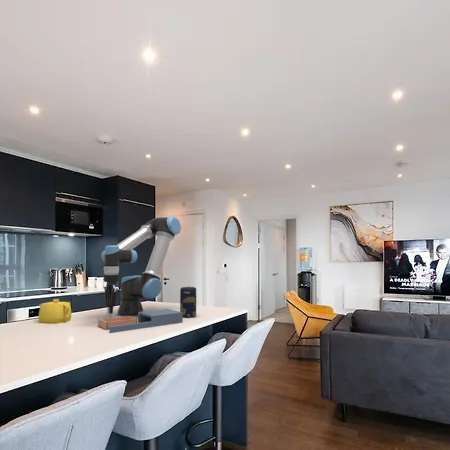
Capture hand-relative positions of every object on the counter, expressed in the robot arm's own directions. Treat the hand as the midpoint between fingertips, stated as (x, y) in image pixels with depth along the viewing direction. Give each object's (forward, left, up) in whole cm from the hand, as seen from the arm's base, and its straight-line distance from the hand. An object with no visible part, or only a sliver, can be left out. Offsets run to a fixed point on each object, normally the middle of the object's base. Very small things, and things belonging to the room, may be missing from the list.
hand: (109, 319), depth 183 cm
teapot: (-26, -21, -2) cm, 34 cm away
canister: (+10, +43, -2) cm, 44 cm away
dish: (+10, 0, -2) cm, 10 cm away
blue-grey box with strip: (+15, +11, -2) cm, 19 cm away
